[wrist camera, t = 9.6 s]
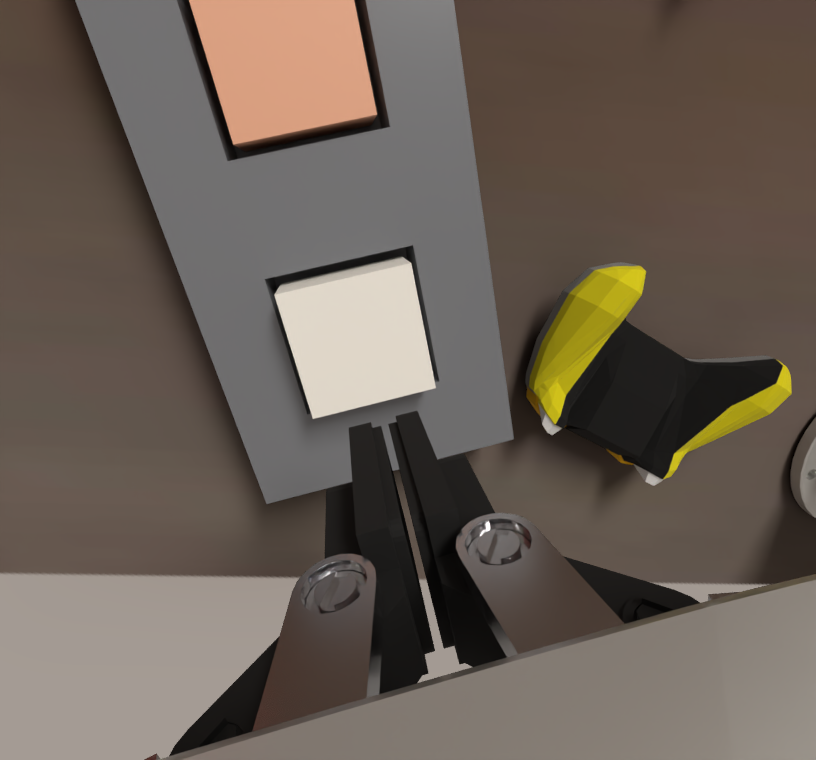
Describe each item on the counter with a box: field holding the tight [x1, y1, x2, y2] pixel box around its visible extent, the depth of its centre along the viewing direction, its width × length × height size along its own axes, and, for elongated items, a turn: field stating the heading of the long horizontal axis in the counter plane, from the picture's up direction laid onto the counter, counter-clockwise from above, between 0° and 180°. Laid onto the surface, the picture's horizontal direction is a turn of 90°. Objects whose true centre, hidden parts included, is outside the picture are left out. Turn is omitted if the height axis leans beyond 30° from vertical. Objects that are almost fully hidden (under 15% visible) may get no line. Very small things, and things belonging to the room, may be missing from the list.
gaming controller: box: [525, 262, 791, 486], centre depth 29 cm, size 15×6×10 cm
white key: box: [275, 256, 436, 419], centre depth 23 cm, size 6×6×3 cm
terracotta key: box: [189, 0, 377, 152], centre depth 20 cm, size 6×6×3 cm
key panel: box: [75, 0, 514, 504], centre depth 23 cm, size 14×28×4 cm, turn 12°
